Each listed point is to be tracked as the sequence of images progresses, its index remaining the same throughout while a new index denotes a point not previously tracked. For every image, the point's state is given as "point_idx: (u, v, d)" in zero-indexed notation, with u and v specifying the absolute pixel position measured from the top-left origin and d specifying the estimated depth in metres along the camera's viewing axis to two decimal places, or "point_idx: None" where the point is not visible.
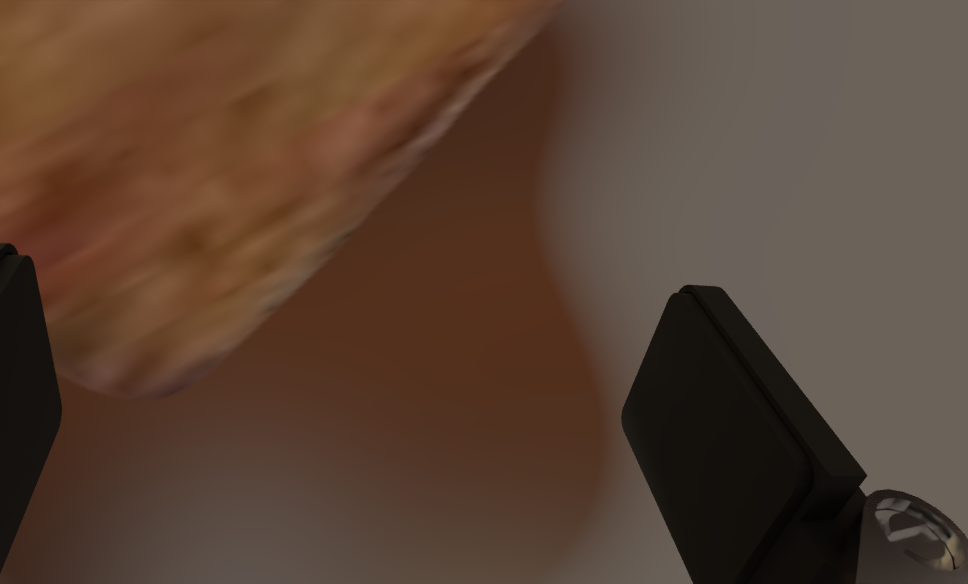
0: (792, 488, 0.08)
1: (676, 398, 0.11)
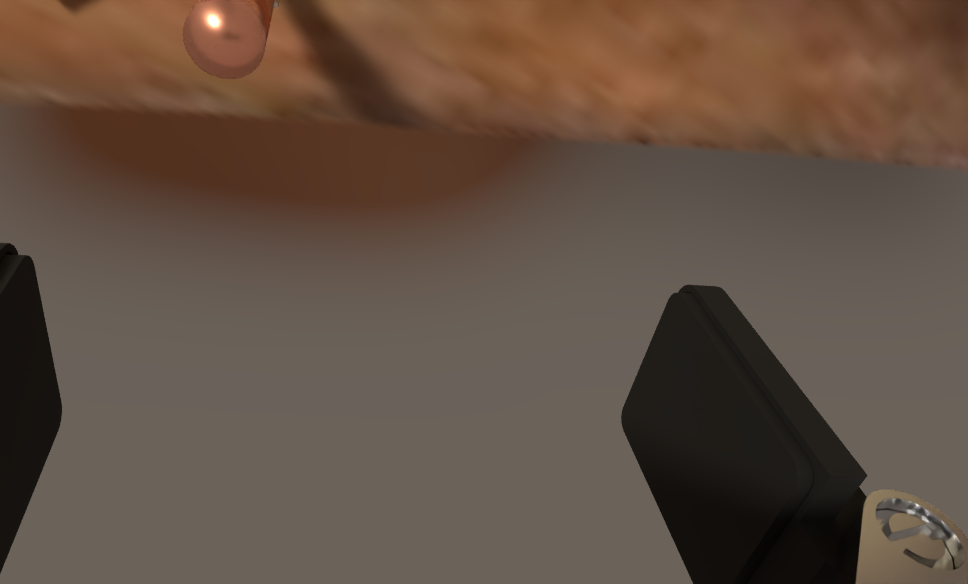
0: (792, 488, 0.08)
1: (676, 398, 0.11)
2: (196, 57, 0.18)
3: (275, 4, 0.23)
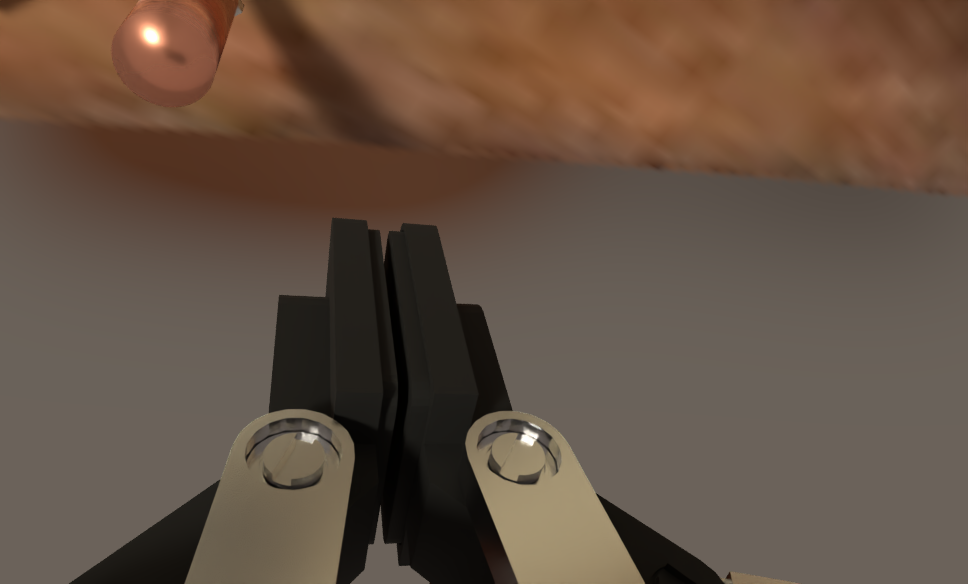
0: (414, 409, 0.08)
1: None
2: (129, 80, 0.15)
3: (238, 11, 0.20)
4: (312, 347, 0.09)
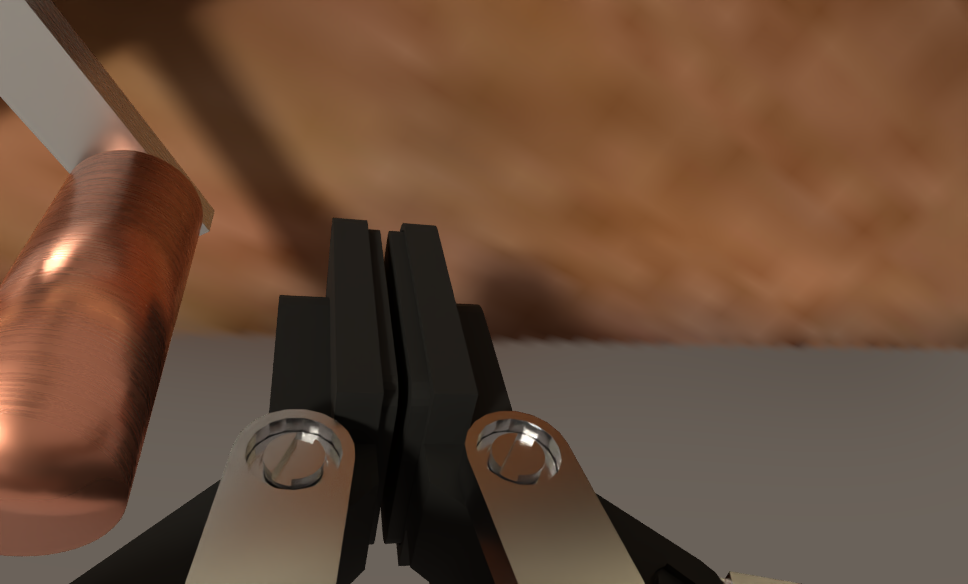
0: (414, 409, 0.08)
1: None
2: None
3: (203, 229, 0.12)
4: (312, 346, 0.09)
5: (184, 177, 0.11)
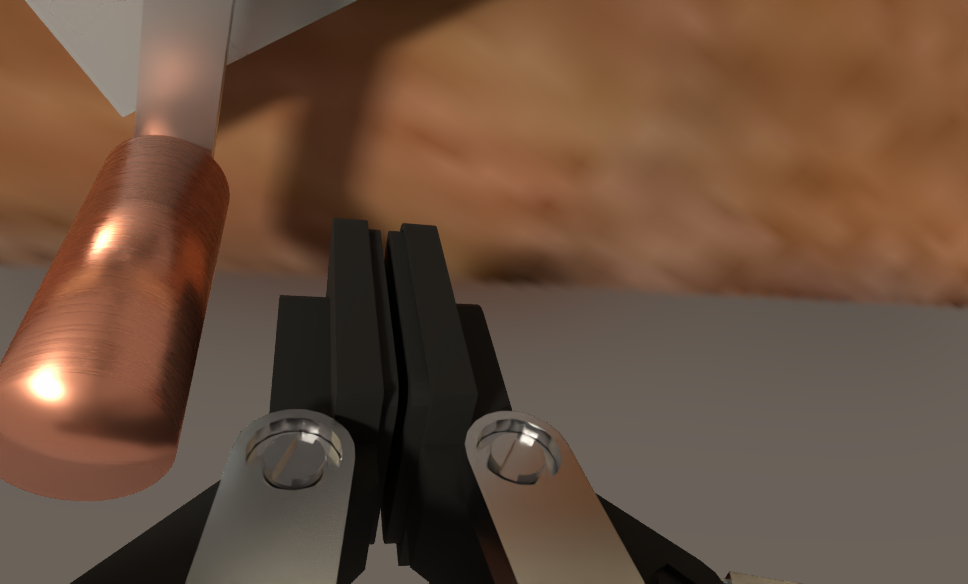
0: (414, 410, 0.08)
1: None
2: None
3: None
4: (312, 347, 0.09)
5: (229, 196, 0.12)
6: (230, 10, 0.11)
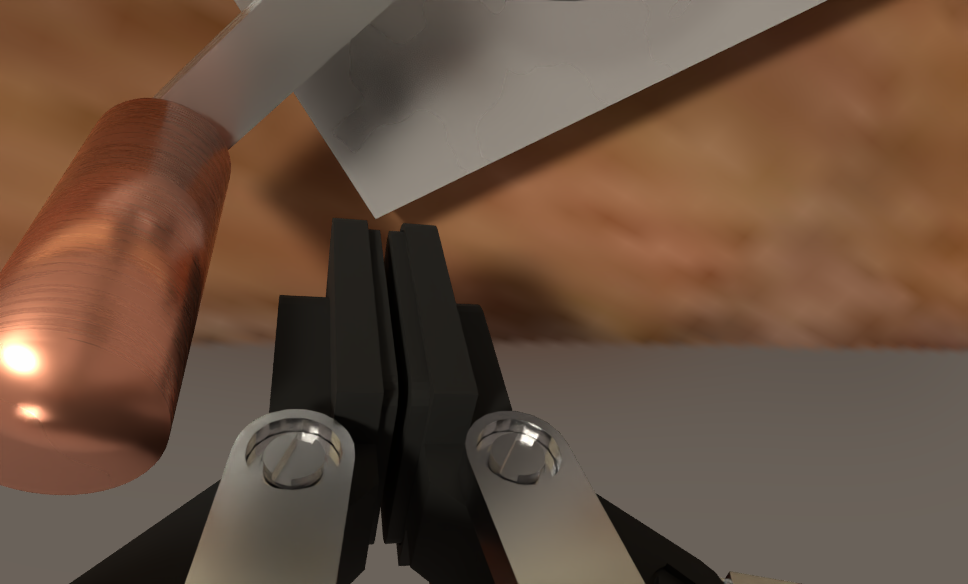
0: (414, 410, 0.08)
1: None
2: None
3: None
4: (313, 346, 0.09)
5: None
6: (337, 50, 0.11)
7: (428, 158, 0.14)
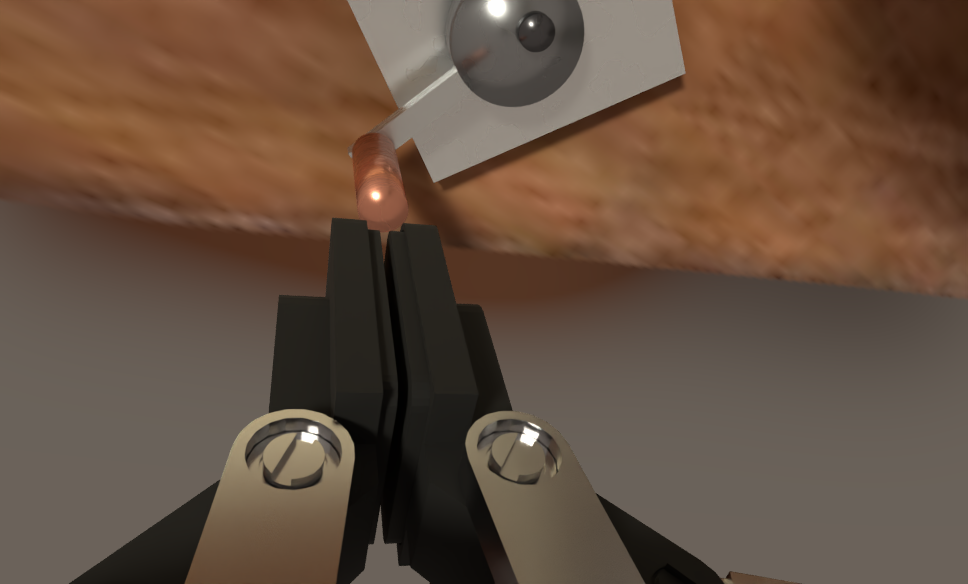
0: (414, 409, 0.08)
1: None
2: (369, 195, 0.27)
3: None
4: (312, 346, 0.09)
5: None
6: (434, 119, 0.32)
7: (457, 158, 0.36)
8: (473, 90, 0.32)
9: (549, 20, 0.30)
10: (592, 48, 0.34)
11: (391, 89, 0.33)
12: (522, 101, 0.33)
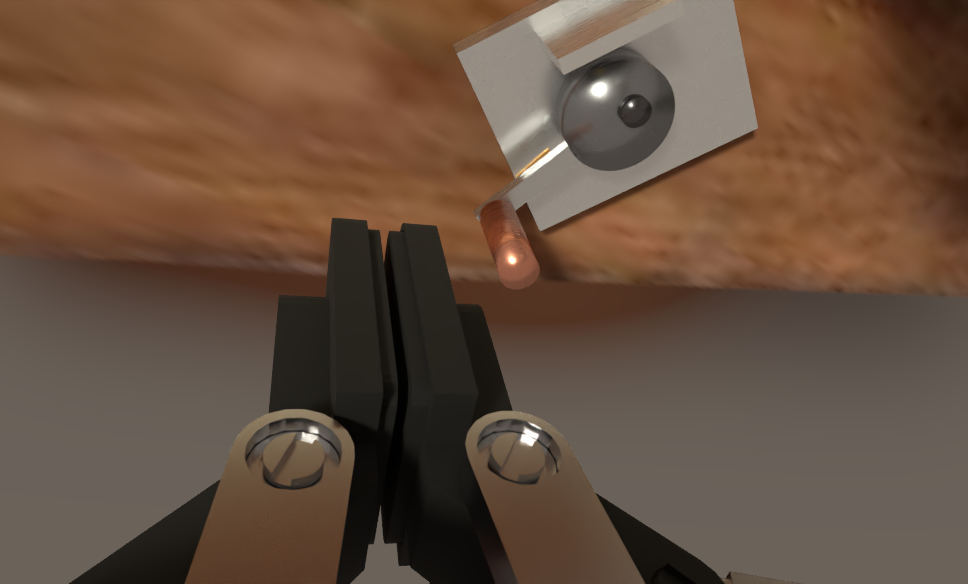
0: (414, 410, 0.08)
1: None
2: (509, 262, 0.33)
3: None
4: (312, 346, 0.09)
5: None
6: None
7: (560, 210, 0.42)
8: (580, 160, 0.38)
9: (647, 102, 0.36)
10: (677, 114, 0.39)
11: (507, 159, 0.39)
12: (621, 165, 0.38)
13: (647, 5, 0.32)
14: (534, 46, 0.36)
